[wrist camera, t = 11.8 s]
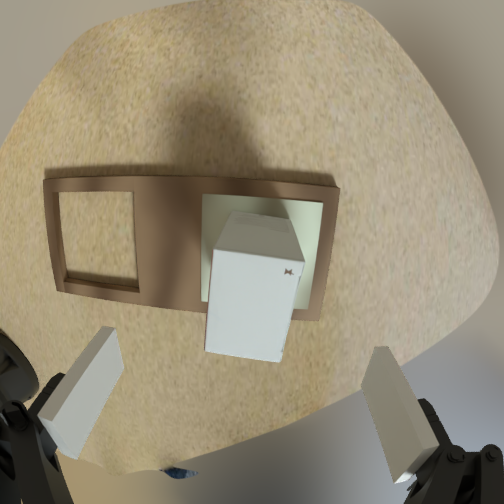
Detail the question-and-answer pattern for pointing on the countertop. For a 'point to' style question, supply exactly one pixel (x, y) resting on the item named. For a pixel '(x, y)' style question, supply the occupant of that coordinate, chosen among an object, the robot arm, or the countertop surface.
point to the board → (198, 234)
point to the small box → (253, 286)
